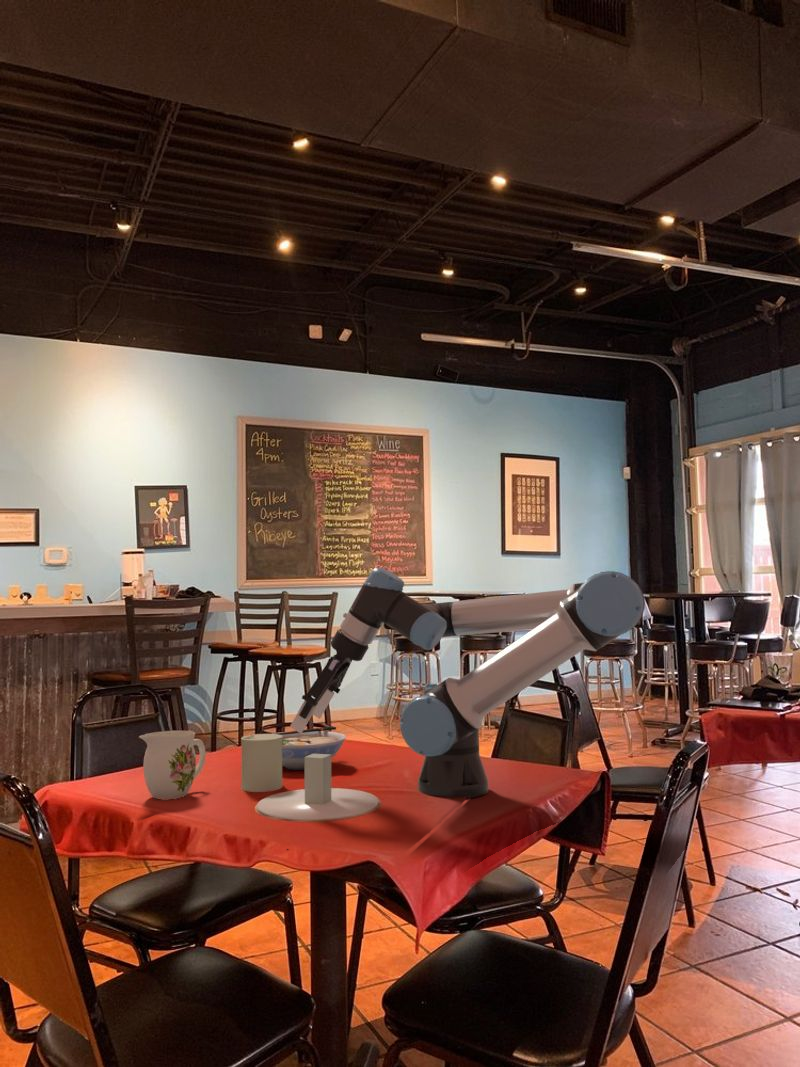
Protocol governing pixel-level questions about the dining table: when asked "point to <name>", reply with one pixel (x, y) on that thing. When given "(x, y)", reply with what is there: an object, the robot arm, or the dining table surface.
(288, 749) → the ramen bowl
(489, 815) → the dining table surface
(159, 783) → the pitcher
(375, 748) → the dining table surface
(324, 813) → the lid
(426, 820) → the dining table surface
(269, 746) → the can
